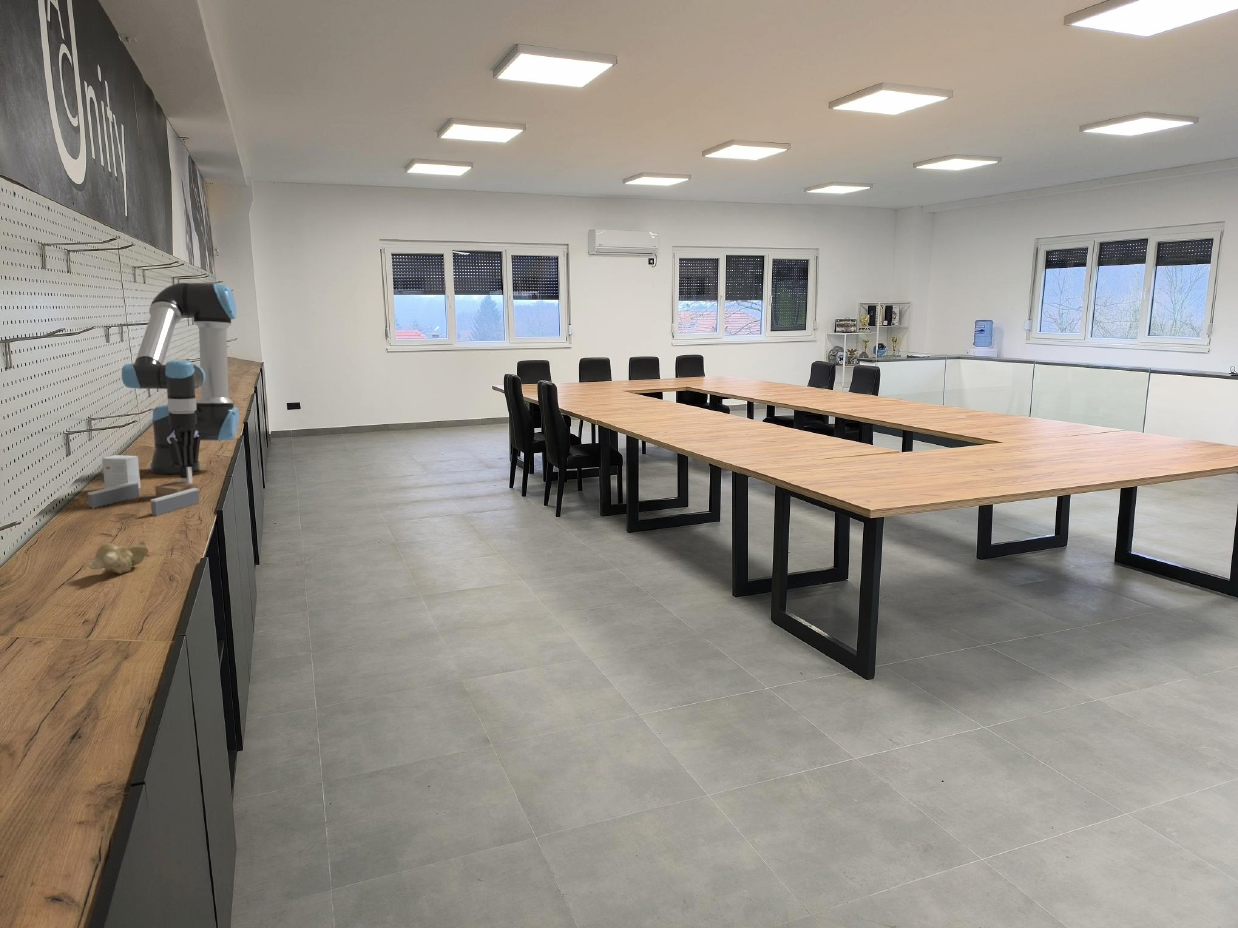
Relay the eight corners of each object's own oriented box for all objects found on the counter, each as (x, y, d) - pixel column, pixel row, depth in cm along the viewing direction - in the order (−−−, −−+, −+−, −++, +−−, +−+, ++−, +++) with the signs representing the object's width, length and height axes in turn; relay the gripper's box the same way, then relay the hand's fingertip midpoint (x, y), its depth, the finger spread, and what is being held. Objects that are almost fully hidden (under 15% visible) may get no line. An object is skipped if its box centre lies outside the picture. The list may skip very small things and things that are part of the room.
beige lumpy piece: (151, 539, 183) (111, 538, 171) (155, 569, 182) (115, 571, 170) (119, 546, 184) (77, 546, 172) (123, 577, 183) (81, 579, 171)
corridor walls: (134, 495, 244) (133, 481, 243) (199, 503, 238) (198, 488, 237) (88, 507, 228) (87, 492, 228) (156, 516, 223) (155, 500, 222)
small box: (141, 488, 253) (138, 456, 251) (128, 492, 248) (126, 459, 245) (117, 487, 254) (114, 454, 252) (104, 491, 248) (101, 457, 246)
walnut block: (176, 494, 249) (175, 481, 248) (198, 496, 247) (197, 483, 246) (156, 499, 241) (155, 486, 240) (178, 502, 239) (177, 489, 239)
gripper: (188, 408, 251) (192, 482, 255) (155, 413, 239) (160, 490, 243) (208, 410, 249) (212, 484, 254) (176, 415, 237) (181, 492, 241)
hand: (187, 487), depth 248 cm, fingers closed
